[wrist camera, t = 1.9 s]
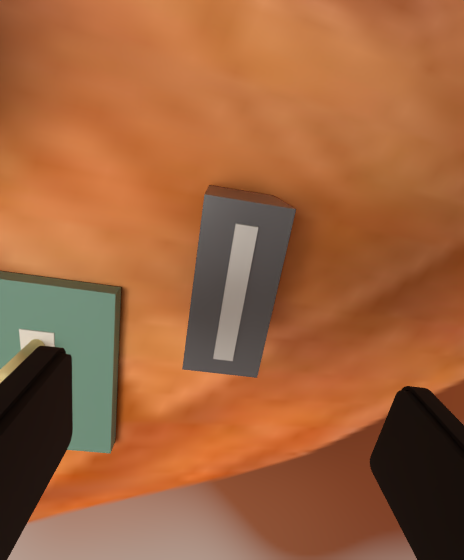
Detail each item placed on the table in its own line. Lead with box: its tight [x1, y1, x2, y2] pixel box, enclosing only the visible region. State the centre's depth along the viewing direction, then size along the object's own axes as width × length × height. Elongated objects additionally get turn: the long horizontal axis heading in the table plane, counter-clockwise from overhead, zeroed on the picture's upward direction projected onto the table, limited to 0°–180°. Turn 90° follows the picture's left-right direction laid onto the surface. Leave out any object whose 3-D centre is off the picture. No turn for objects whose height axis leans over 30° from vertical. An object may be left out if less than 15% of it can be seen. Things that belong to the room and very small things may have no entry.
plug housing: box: [182, 185, 296, 378], centre depth 17 cm, size 9×4×6 cm, turn 171°
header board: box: [0, 271, 121, 453], centre depth 20 cm, size 14×10×5 cm
